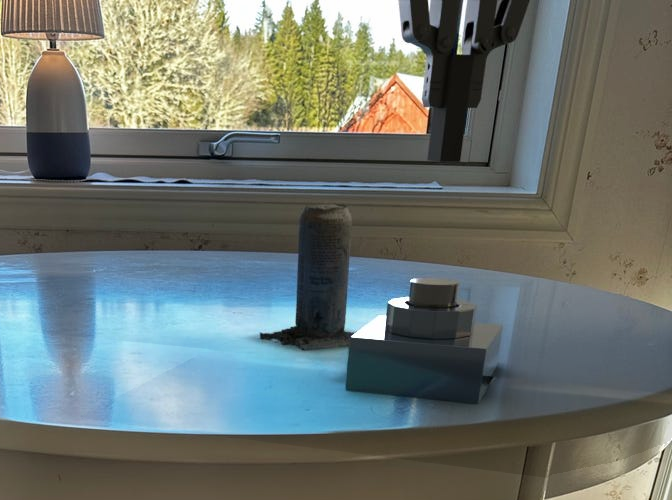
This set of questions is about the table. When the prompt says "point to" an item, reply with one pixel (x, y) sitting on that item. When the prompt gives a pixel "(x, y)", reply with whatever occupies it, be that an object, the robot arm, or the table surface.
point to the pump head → (433, 293)
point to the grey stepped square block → (424, 353)
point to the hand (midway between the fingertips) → (443, 160)
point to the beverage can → (321, 280)
